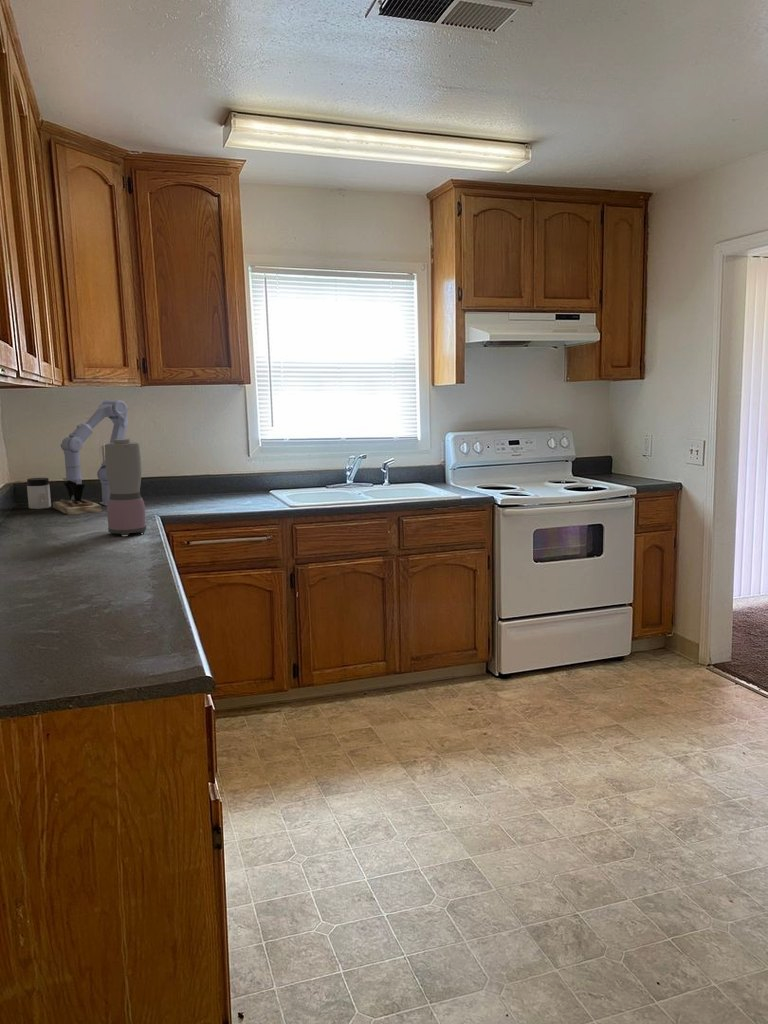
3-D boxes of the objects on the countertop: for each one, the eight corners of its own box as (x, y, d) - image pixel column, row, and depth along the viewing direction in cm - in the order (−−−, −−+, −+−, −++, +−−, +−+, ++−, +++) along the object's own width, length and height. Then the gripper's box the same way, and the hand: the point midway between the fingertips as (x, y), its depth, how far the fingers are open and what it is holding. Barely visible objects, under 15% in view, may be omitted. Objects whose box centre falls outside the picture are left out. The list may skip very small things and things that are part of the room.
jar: (32, 509, 306) (30, 480, 304) (25, 507, 312) (23, 478, 310) (54, 507, 312) (52, 478, 310) (47, 505, 318) (45, 477, 316)
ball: (84, 497, 305) (81, 506, 306) (81, 493, 308) (77, 502, 309) (75, 495, 302) (71, 504, 303) (71, 491, 305) (68, 500, 306)
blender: (153, 533, 255) (147, 439, 249) (118, 538, 246) (112, 441, 241) (131, 527, 266) (126, 437, 260) (98, 532, 257) (91, 439, 252)
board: (85, 504, 318) (85, 496, 318) (101, 511, 301) (101, 503, 300) (53, 507, 311) (52, 499, 310) (67, 514, 293) (67, 506, 293)
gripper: (57, 466, 307) (60, 498, 310) (67, 469, 296) (70, 502, 298) (75, 464, 312) (78, 497, 314) (86, 467, 300) (88, 501, 302)
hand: (75, 499), depth 306 cm, fingers open, 7 cm apart
